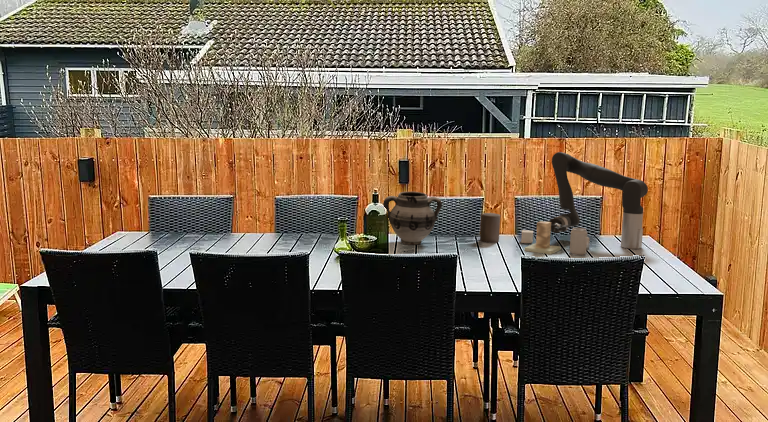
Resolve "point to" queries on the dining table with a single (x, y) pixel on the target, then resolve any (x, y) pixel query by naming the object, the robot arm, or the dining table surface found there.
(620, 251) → the dining table surface
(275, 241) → the dining table surface
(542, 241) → the oak block
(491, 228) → the pillar candle
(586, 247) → the steel puck
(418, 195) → the ceramic pot
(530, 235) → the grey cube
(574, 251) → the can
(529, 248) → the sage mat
